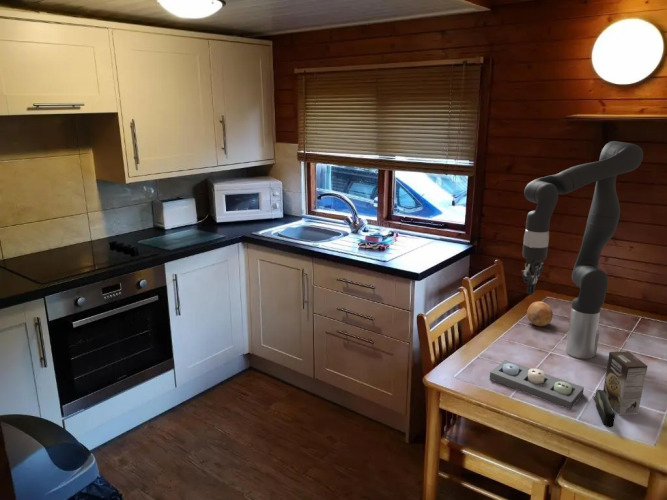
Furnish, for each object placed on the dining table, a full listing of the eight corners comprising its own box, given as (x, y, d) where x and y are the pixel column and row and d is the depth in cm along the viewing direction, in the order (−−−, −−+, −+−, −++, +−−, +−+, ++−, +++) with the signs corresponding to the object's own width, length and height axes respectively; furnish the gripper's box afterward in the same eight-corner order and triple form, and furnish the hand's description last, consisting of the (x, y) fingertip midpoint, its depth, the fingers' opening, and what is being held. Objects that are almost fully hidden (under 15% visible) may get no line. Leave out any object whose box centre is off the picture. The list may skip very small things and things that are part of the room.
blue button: (499, 375, 174) (500, 366, 173) (506, 369, 177) (507, 361, 176) (513, 380, 170) (514, 372, 169) (520, 374, 174) (521, 366, 173)
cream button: (524, 381, 168) (525, 372, 167) (531, 375, 171) (532, 366, 170) (540, 386, 164) (541, 377, 163) (546, 380, 168) (547, 371, 167)
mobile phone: (617, 414, 146) (603, 384, 160) (606, 413, 146) (592, 383, 160) (615, 429, 147) (600, 398, 161) (603, 428, 148) (590, 397, 162)
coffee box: (600, 398, 162) (608, 351, 157) (620, 396, 162) (628, 350, 157) (618, 415, 153) (627, 366, 148) (639, 414, 154) (648, 365, 149)
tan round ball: (553, 323, 214) (556, 300, 211) (548, 332, 206) (551, 308, 203) (529, 317, 219) (531, 295, 216) (523, 326, 211) (525, 303, 208)
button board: (489, 378, 173) (490, 372, 172) (504, 366, 181) (505, 359, 180) (570, 409, 156) (571, 402, 155) (582, 394, 164) (583, 387, 163)
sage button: (550, 394, 163) (551, 385, 162) (556, 387, 166) (558, 379, 165) (567, 400, 159) (568, 391, 158) (573, 393, 163) (574, 384, 162)
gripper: (532, 237, 175) (527, 285, 180) (515, 245, 166) (510, 296, 171) (555, 241, 170) (549, 290, 175) (538, 250, 161) (533, 302, 166)
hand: (530, 293), depth 173 cm, fingers closed
